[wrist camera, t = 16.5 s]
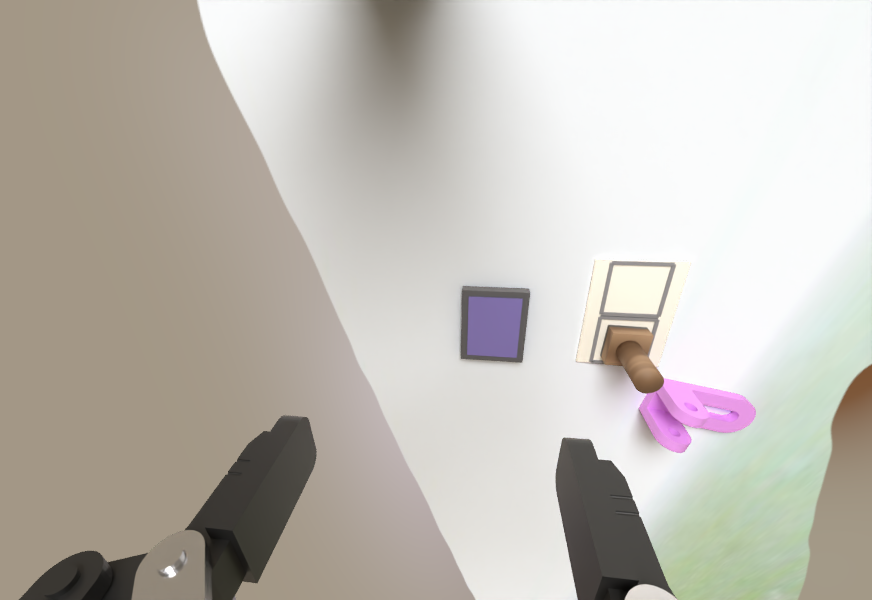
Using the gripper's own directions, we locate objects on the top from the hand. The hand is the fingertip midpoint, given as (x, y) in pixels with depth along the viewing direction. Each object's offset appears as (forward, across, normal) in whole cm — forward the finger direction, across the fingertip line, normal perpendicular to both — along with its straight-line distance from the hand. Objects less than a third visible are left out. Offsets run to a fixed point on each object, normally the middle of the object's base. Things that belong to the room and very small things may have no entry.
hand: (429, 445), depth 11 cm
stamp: (+32, -20, +16) cm, 40 cm away
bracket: (+32, -31, +25) cm, 51 cm away
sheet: (+32, -20, +12) cm, 39 cm away
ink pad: (+32, -4, +14) cm, 35 cm away
